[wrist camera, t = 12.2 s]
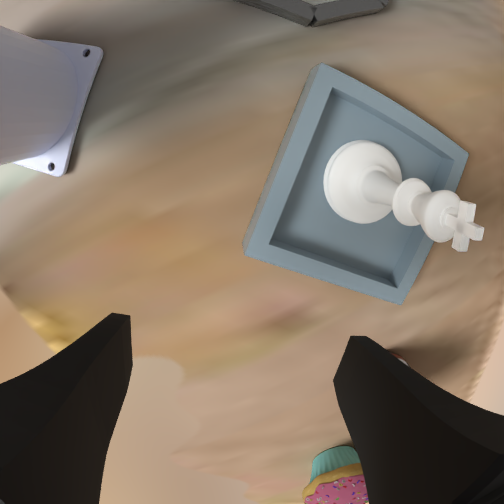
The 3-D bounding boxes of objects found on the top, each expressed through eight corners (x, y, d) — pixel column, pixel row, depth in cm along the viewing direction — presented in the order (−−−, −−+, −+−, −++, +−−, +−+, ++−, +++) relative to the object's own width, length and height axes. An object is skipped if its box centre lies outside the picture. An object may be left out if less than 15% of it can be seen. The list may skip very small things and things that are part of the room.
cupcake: (324, 480, 31) (346, 560, 19) (278, 465, 28) (296, 562, 17) (383, 445, 29) (419, 527, 18) (344, 424, 26) (383, 528, 15)
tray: (242, 242, 19) (244, 255, 17) (311, 69, 16) (321, 62, 14) (388, 291, 21) (401, 305, 19) (450, 150, 18) (469, 153, 16)
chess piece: (401, 145, 17) (529, 171, 8) (392, 223, 19) (501, 297, 9) (326, 135, 17) (435, 145, 7) (319, 220, 18) (406, 307, 9)
